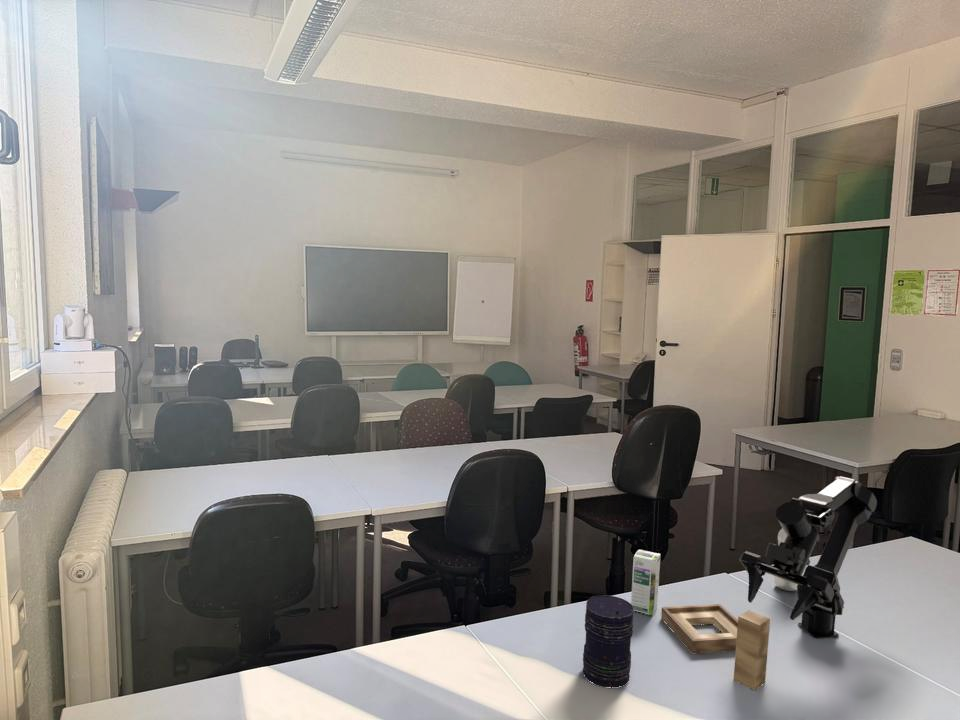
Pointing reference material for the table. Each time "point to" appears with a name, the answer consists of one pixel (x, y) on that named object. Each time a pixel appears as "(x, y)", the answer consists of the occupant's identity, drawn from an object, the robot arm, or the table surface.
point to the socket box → (715, 614)
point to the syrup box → (645, 581)
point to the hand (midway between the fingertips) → (769, 610)
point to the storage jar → (608, 640)
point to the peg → (751, 649)
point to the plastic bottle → (781, 582)
